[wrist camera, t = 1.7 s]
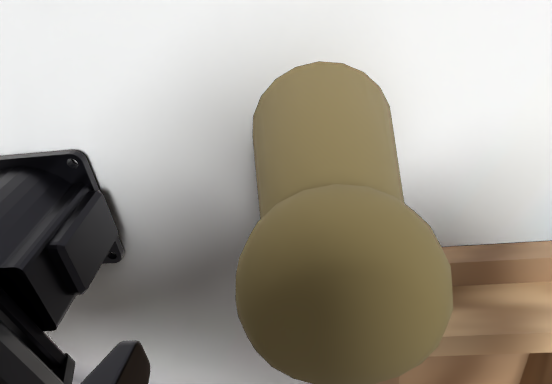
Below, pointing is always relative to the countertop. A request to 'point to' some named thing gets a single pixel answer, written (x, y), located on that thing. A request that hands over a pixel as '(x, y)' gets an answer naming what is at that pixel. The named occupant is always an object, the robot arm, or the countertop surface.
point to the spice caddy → (494, 318)
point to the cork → (337, 237)
